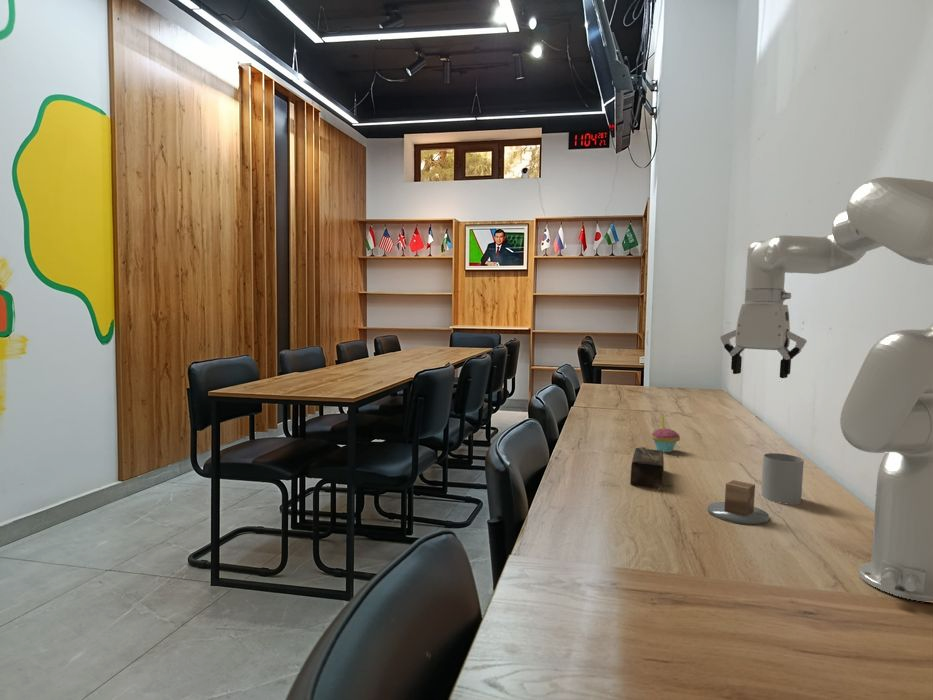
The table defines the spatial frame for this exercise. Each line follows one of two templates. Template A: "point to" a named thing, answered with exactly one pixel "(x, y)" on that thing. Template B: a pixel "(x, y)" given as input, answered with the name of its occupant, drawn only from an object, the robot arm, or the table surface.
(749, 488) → the block
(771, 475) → the cup
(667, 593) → the table surface
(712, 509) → the coaster
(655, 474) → the dark grey rectangular box
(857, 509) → the table surface
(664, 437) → the cupcake
